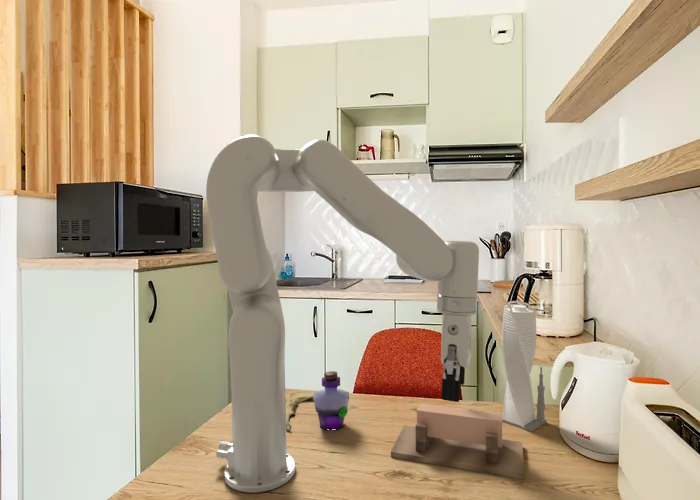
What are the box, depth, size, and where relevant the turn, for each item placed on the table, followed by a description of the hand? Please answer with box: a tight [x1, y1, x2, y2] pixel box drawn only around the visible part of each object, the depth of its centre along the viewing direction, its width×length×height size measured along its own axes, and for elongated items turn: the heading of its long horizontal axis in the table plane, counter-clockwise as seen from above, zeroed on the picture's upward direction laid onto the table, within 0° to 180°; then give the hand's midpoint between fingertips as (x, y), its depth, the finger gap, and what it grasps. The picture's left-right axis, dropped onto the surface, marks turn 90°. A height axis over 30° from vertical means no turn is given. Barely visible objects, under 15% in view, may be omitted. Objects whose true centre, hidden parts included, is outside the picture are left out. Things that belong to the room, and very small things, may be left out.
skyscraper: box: [501, 300, 547, 432], centre depth 98 cm, size 8×8×28 cm
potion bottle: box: [312, 370, 350, 432], centre depth 98 cm, size 9×9×12 cm
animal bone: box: [286, 391, 315, 432], centre depth 105 cm, size 21×2×10 cm
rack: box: [390, 422, 525, 480], centre depth 86 cm, size 24×12×6 cm, turn 70°
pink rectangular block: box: [416, 403, 503, 448], centre depth 85 cm, size 16×4×5 cm, turn 70°
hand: (453, 391), depth 85 cm, fingers open, 9 cm apart
